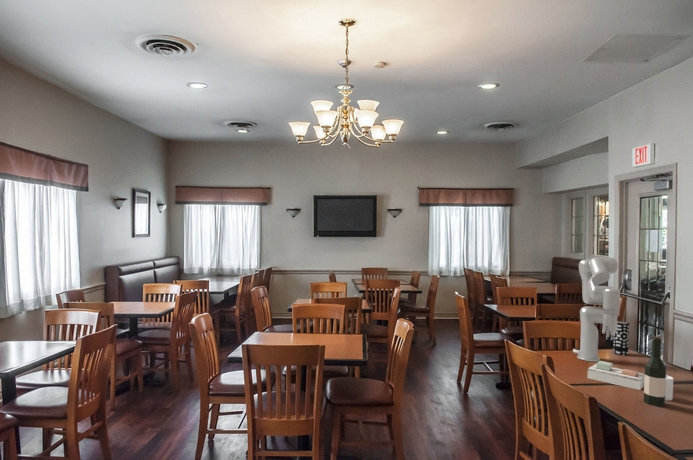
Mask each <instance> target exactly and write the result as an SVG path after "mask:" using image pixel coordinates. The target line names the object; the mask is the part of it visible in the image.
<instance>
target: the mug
mask: <svg viewBox="0 0 693 460" xmlns="http://www.w3.org/2000/svg"><path fill="white" fill-rule="evenodd" d="M673 398H674V377H673V376H670V375H667V374H666V389H665V401H673Z"/></svg>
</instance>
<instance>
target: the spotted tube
mask: <svg viewBox="0 0 693 460" xmlns="http://www.w3.org/2000/svg"><path fill="white" fill-rule="evenodd" d="M613 340H614V343H613V349H612V350H613V351H612V354H614V355H616V356H623V357H624V356H625V357H627V356H629V345H630V344H629V343H630V342H629V341H630V322H627V321H619V320H617V332H616V333H615V334H614V339H613Z"/></svg>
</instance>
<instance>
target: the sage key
mask: <svg viewBox="0 0 693 460" xmlns="http://www.w3.org/2000/svg"><path fill="white" fill-rule="evenodd" d="M596 364H597V365H596V369H601V370H606V371H610V370H611V369H612V367H613V362H608V361H603V360H600V361H597V362H596Z"/></svg>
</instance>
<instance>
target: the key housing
mask: <svg viewBox="0 0 693 460" xmlns="http://www.w3.org/2000/svg"><path fill="white" fill-rule="evenodd" d="M596 365H597V363H595V364H593V365H592V366H589V367H588V368H587V376H586V377H587V379H589V380H593V381H599V382H603V383H607V384H613V385H616V386H619V387H620V386H621V387H625V388H630V389H633V390H638V391H641V390H642V389H644V380H645V372H639V371H638V376H637V377H633V376H628V375H624V374H622V371H623V370H624V369H625V368H624V369H623V368H620V367H616V366H615V367H613V366H612V369H611V370H610V371H606V370H601V369H596Z"/></svg>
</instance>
